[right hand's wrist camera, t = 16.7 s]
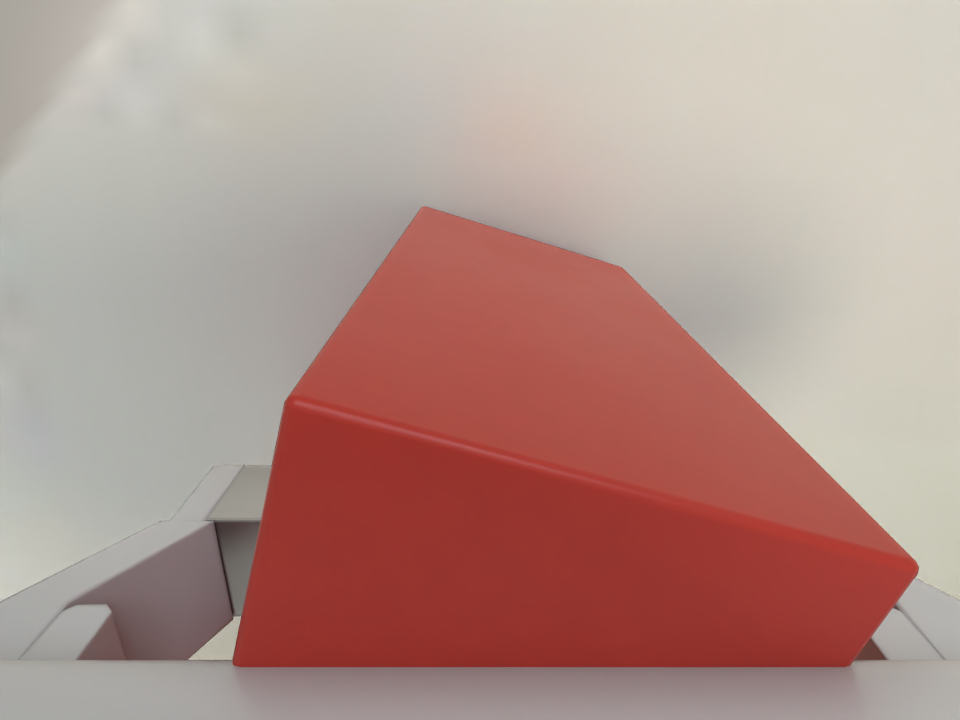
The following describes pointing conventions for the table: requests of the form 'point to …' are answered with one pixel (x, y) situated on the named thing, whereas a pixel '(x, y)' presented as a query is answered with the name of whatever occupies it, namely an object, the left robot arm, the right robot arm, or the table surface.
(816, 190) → the table surface
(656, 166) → the table surface
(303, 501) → the block
